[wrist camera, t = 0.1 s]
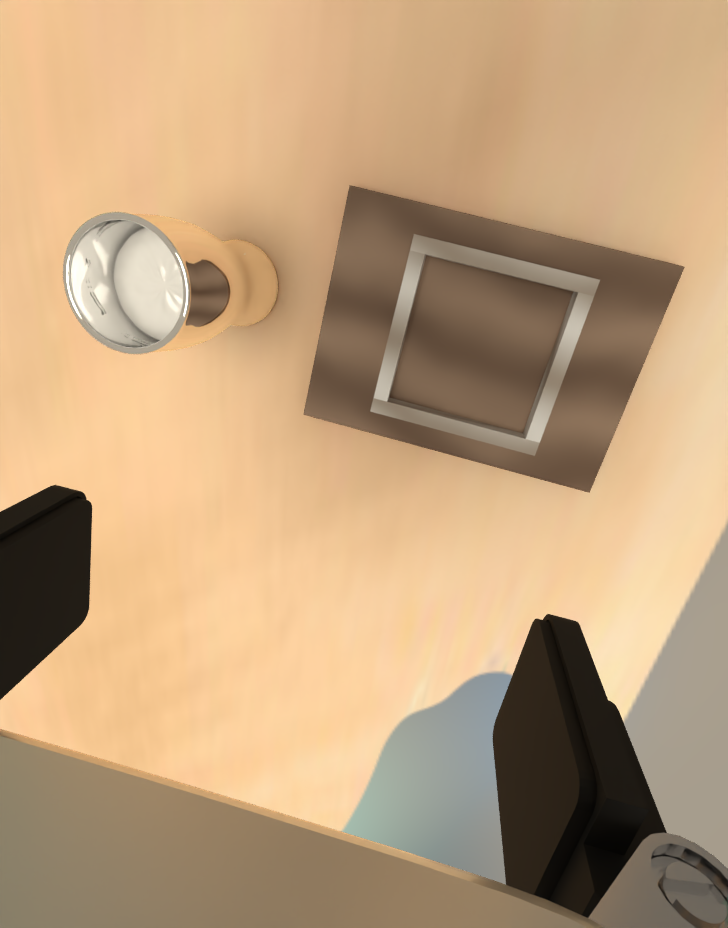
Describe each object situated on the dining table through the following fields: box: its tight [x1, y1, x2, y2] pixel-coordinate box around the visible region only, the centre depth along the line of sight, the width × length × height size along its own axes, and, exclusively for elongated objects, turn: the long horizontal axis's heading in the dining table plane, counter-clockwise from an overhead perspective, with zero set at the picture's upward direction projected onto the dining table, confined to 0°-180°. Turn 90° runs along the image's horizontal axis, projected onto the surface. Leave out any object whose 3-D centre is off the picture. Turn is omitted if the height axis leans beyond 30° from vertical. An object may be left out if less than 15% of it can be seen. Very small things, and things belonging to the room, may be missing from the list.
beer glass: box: [63, 212, 278, 354], centre depth 33 cm, size 7×7×15 cm
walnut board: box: [304, 186, 684, 492], centre depth 37 cm, size 16×22×3 cm
